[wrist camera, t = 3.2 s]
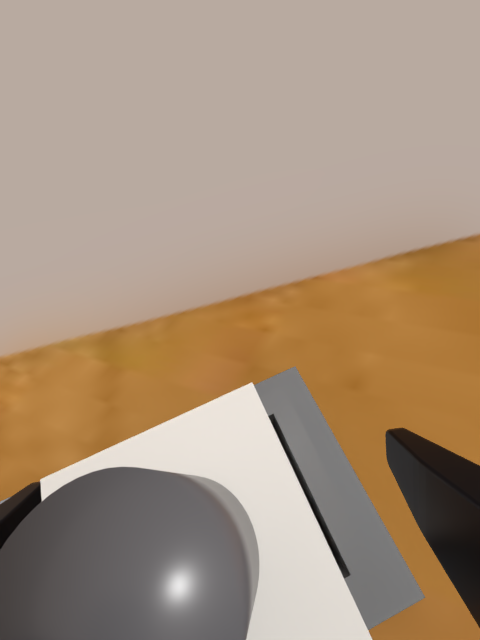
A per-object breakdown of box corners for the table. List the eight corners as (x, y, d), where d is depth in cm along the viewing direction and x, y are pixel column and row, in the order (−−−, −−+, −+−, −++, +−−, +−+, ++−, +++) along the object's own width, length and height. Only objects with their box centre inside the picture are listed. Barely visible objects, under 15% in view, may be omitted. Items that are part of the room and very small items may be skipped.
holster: (416, 590, 12) (479, 638, 8) (179, 725, 11) (126, 852, 7) (294, 371, 17) (298, 338, 13) (123, 450, 16) (74, 438, 12)
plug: (311, 543, 12) (539, 937, 2) (222, 590, 12) (-338, 1583, 1) (268, 446, 14) (235, 319, 3) (190, 484, 14) (-123, 473, 3)
